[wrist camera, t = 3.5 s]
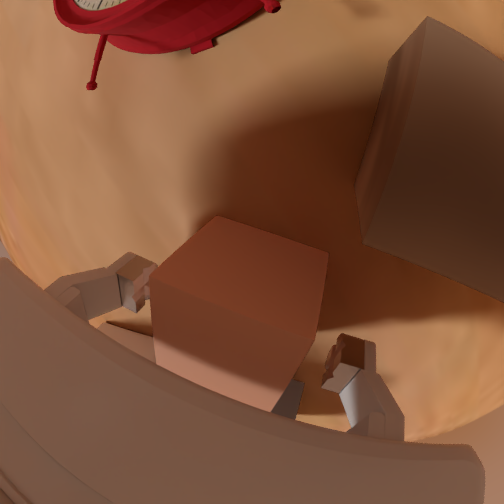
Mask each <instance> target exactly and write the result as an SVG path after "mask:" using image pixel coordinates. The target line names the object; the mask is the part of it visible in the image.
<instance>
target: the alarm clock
mask: <svg viewBox="0 0 504 504" xmlns="http://www.w3.org/2000/svg"><path fill="white" fill-rule="evenodd" d="M53 4H54V11H55V14H56V16H57V18H58V20H59V21H60V22H61V23H62V24H63V25H65V26H66V27H69V28H70V29H72V30H74V31H76V32H79V33H85V34H100V35H101V36H100V39H99V43H98V46H97V50H96V54H95V58H94V65H93V70H92V75H91V80H90V82H89V83H87V86H86V88H87V90H95V89H96V88H97V83H96V82H95V80H96V76H97V71H98V67H99V64H100V61H101V58H102V54H103V51H104V47H105V44H106V41H108V42H110V43H111V44H112V45H114V46H116V47H117V48H120V49H122V50H125V51H129V52H135V53H141V54H161V53H168V52H173V51H178V50H182V49H186V48H189V47H190V49H191V54H196V53H198V52H201V51H204V50H207V49H209V48H212V47H214V46H213V45H212V41H211V39H212V38H214V37H216V36H218V35H220V34H222V33H224V32H226V31H228V30H229V29H231V28H233V27H235V26H236V25H238V24H240V23H241V22H243V21H244V20H246V19H247V18H249V17H250V16H251V15H253V14H254V13H255V12H257V11H258V10H259V9H261V8H262V7H263V6H264V5H265V6H264V9H265V10H266V11H267V12H268V13H276V12H278V11H279V10H280V9H281V5H280V3H279V2H278V1H276V0H53Z"/></svg>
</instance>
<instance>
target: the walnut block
mask: <svg viewBox="0 0 504 504" xmlns="http://www.w3.org/2000/svg"><path fill="white" fill-rule="evenodd" d="M354 188H355V194H356V200H357V207H358V214H359V222H360V229H361V238H362V244H364V245H367V246H369V247H372V248H375V249H377V250H380V251H383V252H385V253H388V254H390V255H393V256H396V257H398V258H401V259H403V260H406V261H408V262H411V263H413V264H416V265H418V266H421V267H423V268H426V269H428V270H431V271H433V272H435V273H438V274H440V275H443V276H445V277H447V278H450V279H452V280H454V281H457V282H459V283H461V284H464V285H466V286H468V287H470V288H473V289H475V290H477V291H479V292H482V293H484V294H486V295H488V296H490V297H493V298H495V299H497V300H499V301H501V302H503V303H504V62H503V61H502V60H501V59H499V58H498V57H496V56H495V55H494V54H492V53H491V52H489V51H488V50H486V49H485V48H484V47H482V46H480V45H479V44H477V43H476V42H474V41H473V40H471V39H469V38H468V37H466V36H464V35H463V34H461V33H459V32H458V31H456V30H454V29H452V28H450V27H448V26H447V25H445V24H443V23H441V22H439V21H437V20H435V19H433V18H430V17H428V16H427V17H426V18H425V19H424V20H423V22H422V23H421V24H420V25H419V26H418V27H417V28H416V30H415V31H414V32H413V33H412V34H411V35H410V37H409V38H408V39H407V40H406V41H405V42H404V43H403V45H402V46H401V47H400V48H399V49H398V50H397V52H396V53H395V54H394V55H393V56H392V57H391V59H390V60H389V62H388V67H387V71H386V75H385V80H384V84H383V88H382V92H381V96H380V100H379V104H378V108H377V111H376V115H375V119H374V122H373V126H372V129H371V133H370V136H369V140H368V143H367V146H366V149H365V153H364V156H363V159H362V162H361V165H360V169H359V172H358V175H357V178H356V181H355V184H354Z"/></svg>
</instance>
